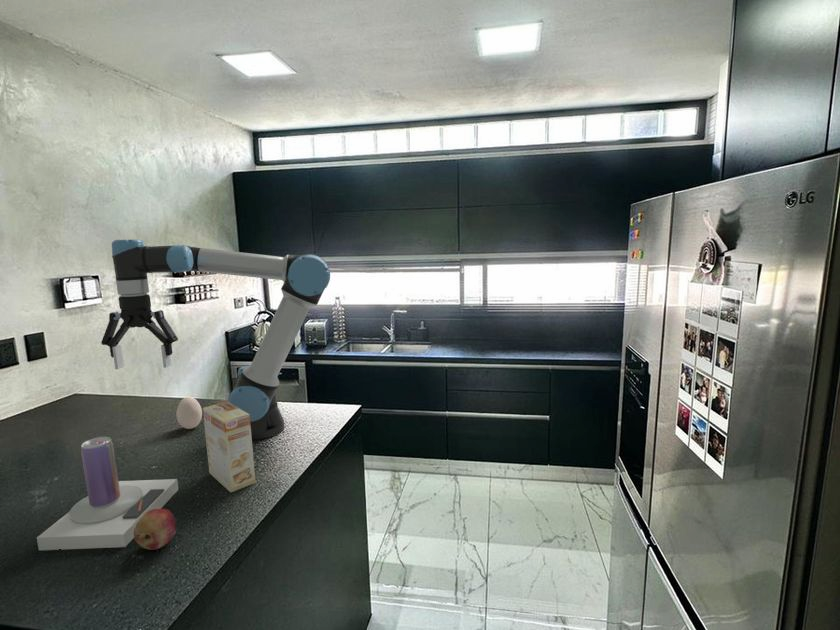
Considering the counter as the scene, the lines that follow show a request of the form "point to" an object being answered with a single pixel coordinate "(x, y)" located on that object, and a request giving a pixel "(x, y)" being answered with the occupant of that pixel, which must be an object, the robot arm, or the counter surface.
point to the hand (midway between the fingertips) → (143, 367)
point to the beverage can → (100, 472)
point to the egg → (189, 413)
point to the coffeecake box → (229, 445)
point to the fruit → (155, 529)
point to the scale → (108, 517)
